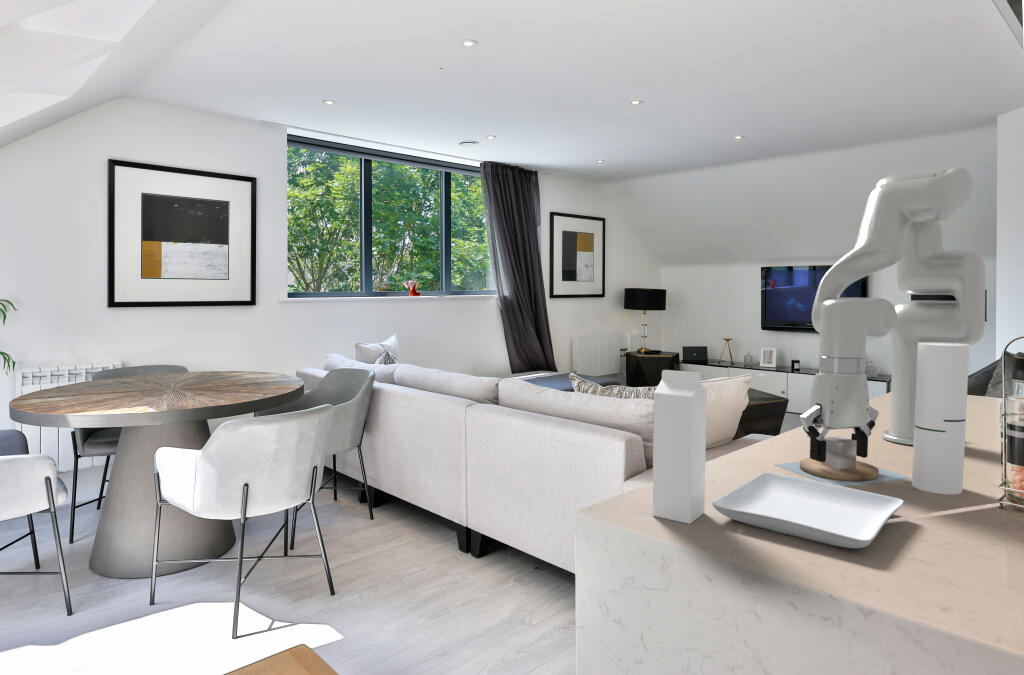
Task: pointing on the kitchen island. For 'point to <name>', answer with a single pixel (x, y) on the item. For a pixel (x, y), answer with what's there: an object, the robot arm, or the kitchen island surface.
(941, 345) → the cylindrical container
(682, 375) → the milk
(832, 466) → the lid
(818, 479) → the mat
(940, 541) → the kitchen island surface
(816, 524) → the salad plate
